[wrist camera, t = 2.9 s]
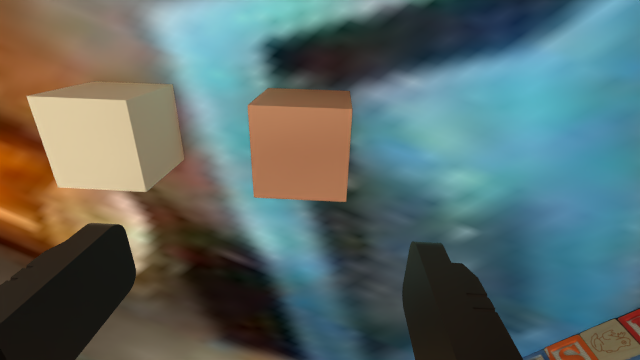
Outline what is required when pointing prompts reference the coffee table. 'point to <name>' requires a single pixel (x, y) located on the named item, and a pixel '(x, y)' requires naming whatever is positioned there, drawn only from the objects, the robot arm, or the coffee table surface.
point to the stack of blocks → (599, 342)
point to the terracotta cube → (300, 144)
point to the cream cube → (109, 134)
